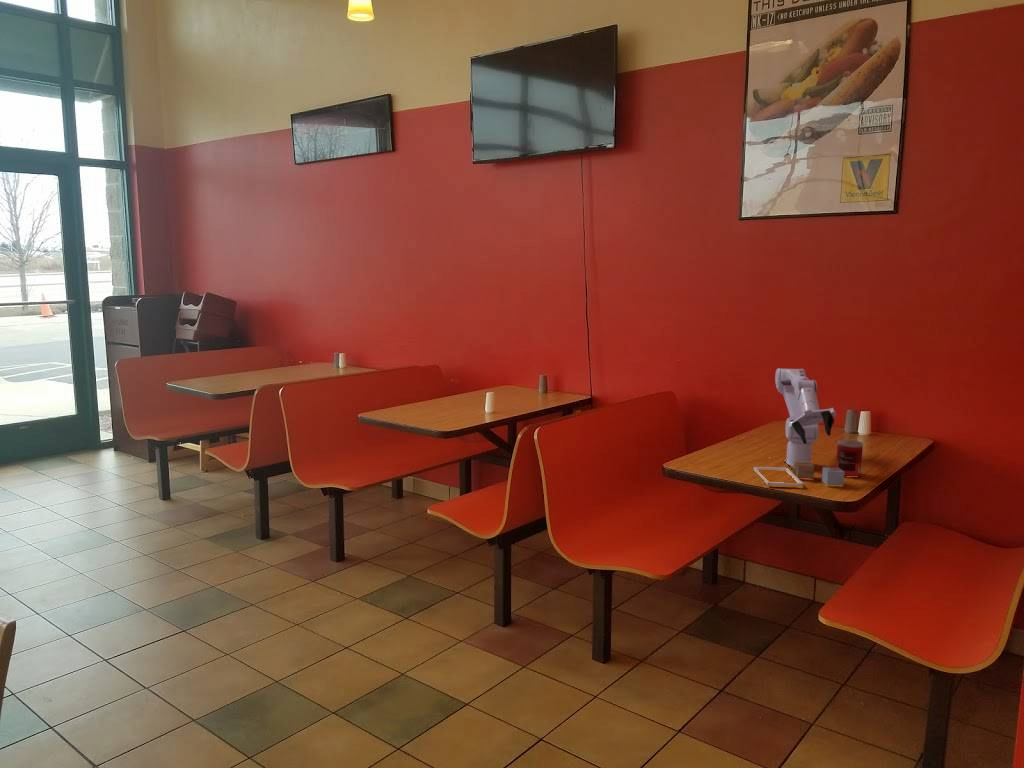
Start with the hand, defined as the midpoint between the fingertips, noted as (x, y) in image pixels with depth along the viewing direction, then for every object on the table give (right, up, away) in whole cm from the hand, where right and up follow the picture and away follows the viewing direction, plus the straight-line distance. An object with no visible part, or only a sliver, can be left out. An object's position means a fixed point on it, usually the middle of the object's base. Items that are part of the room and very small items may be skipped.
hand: (816, 437), depth 245 cm
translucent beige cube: (-1, -14, +8) cm, 16 cm away
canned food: (+15, -13, +12) cm, 24 cm away
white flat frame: (-10, -14, +6) cm, 18 cm away
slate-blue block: (+5, -15, +1) cm, 16 cm away
